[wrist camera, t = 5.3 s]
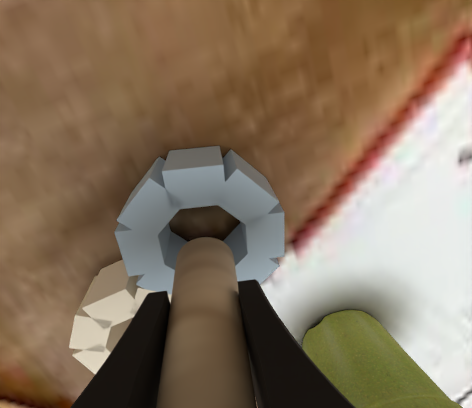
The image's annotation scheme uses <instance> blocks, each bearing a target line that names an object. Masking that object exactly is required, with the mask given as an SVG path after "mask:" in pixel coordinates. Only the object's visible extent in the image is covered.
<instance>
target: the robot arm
mask: <svg viewBox="0 0 472 408" xmlns="http://www.w3.org/2000/svg"><path fill="white" fill-rule="evenodd" d="M237 282H238V293H239V300H240V307H241V313H242V319H243V324H244V329H245V334H246V341H247V347H248V354H249V360H250V367H251V373H252V380H253V386H254V393H255V397H256V402H257V406H258V408H356V407H355V406H354V405H353V404H352V403H351V402H350V401H349V400H348V399H347V398H346V397H345V396H344V395H343V394H342V393H341V392H340V391H339V390H338V389H337V388H336V387H335V386H334V385H333V384H332V383H331V382H330V380H329V379H328V378H327V377H326V376H325V375H324V374H323V373H322V372H321V370H320V369H319V368H318V367H317V366H316V365H315V364H314V362H313V361H312V360H311V359H310V358H309V356H308V355H307V354H306V353H305V351H304V350H303V349H302V348H301V346H300V345H299V344H298V343H297V341H296V340H295V339H294V337H293V336H292V335H291V333H290V332H289V331H288V329H287V328H286V326H285V325H284V324H283V322H282V321H281V319H280V318H279V317H278V315H277V314H276V312H275V310H274V309H273V307H272V306H271V304H270V302H269V301H268V299H267V297H266V296H265V294H264V292H263V290H262V288H261V286H260V284H259V282H258V281H257V280H256V279H253V280H245V281H237ZM169 311H170V301H169V297H168V293H167V291H160V292H152V293H148V294H147V295H146V297H145V299H144V300H143V302H142V304H141V306H140V307H139V309H138V311H137V312H136V314H135V316H134V317H133V319H132V321H131V322H130V324H129V326H128V327H127V329H126V330H125V332H124V333H123V335H122V337H121V338H120V340H119V341H118V343H117V344H116V346H115V347H114V349H113V350H112V352H111V353H110V355H109V356H108V358H107V359H106V360H105V362H104V363H103V365H102V366H101V367H100V369H99V370H98V372H97V373H96V374H95V376H94V377H93V379H92V380H91V381H90V383H89V384H88V385H87V387H86V388H85V389H84V391H83V392H82V393H81V395H80V396H79V397H78V399H77V400H76V401H75V402H74V404H73V405H72V406H71V407H70V408H156V406H157V398H158V391H159V384H160V376H161V369H162V362H163V354H164V347H165V340H166V332H167V325H168V318H169Z"/></svg>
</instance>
